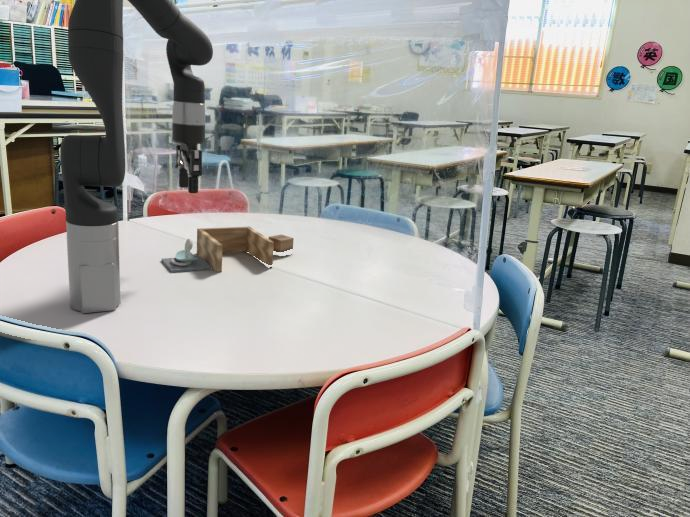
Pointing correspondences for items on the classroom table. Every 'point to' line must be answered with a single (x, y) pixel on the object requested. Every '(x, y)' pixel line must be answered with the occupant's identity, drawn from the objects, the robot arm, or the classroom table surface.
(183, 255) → the pacifier
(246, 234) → the cubby
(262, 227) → the classroom table surface
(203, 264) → the pad
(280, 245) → the walnut block
